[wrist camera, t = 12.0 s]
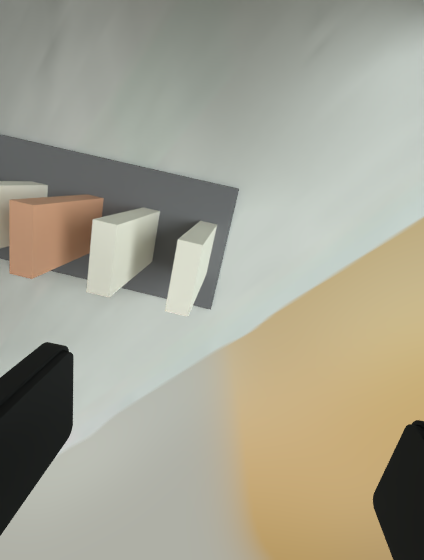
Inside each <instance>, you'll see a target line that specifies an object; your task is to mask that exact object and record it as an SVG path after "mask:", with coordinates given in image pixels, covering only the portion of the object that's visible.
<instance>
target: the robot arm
mask: <svg viewBox="0 0 424 560" xmlns="http://www.w3.org/2000/svg"><path fill="white" fill-rule="evenodd" d="M72 426H73V354H72V353H71V352H69V350H68V347H66V346H63V345H58V344H54V343H49V342H46V343H44V344H42V345H41V346H39V347H38V348H37V349H36V350H34V351H33V352H32V353H31V354H29V355H28V356H27V357H26V358H24V359H23V360H22V361H21V362H19V363H18V364H17V365H16V366H14V367H13V368H12V369H11V370H9V371H8V372H7V373H6V374H4V375H3V376H2V377H1V378H0V535H1V534H2V533H3V531H4V530H5V528H6V527H7V525H8V524H9V523H10V521H11V520H12V518H13V517H14V515H15V514H16V512H17V511H18V509H19V508H20V507H21V505H22V504H23V502H24V501H25V500H26V498H27V497H28V495H29V494H30V492H31V491H32V490H33V488H34V486H35V485H36V484H37V482H38V481H39V480H40V478H41V477H42V475H43V474H44V472H45V471H46V470H47V468H48V467H49V465H50V464H51V462H52V461H53V459H54V458H55V457H56V455H57V454H58V452H59V451H60V449H61V448H62V447H63V445H64V444H65V442H66V441H67V439H68V438H69V436H70V433H71V431H72ZM373 505H374V509H375V512H376V515H377V517H378V520H379V523H380V525H381V528H382V531H383V533H384V536H385V539H386V541H387V544H388V547H389V549H390V552H391V555H392V557H393V559H394V560H424V421H419V420H416V421H414V422H413V423H412V425H407V426H406V428H405V429H404V431H403V434H402V436H401V438H400V440H399V442H398V444H397V446H396V448H395V450H394V453H393V455H392V457H391V459H390V461H389V463H388V465H387V467H386V469H385V471H384V474H383V476H382V478H381V480H380V482H379V484H378V486H377V488H376V490H375V492H374V496H373Z"/></svg>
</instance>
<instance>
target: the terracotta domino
mask: <svg viewBox="0 0 424 560" xmlns="http://www.w3.org/2000/svg"><path fill="white" fill-rule="evenodd" d="M103 200H104V198H101V197H97V196H92V195H88V194H86V195H71V196H56V197H41V198H27V199H12V200H9V255H10V274H14V275H18V276H22V277H26V278H30V279H33V278H35V277H37V276H39V275H42V274H44V273H46V272H48V271H51V270H53V269H55V268H57V267H60V266H62V265H64V264H66V263H69V262H71V261H73V260H75V259H78V258H80V257H82V256H84V255H86V254H89V253H90V245H91V233H92V222H93V219H96V218H100V217H102V210H103Z"/></svg>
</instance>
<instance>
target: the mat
mask: <svg viewBox="0 0 424 560" xmlns="http://www.w3.org/2000/svg"><path fill="white" fill-rule="evenodd" d="M0 181H32V182H37V183H41V184H45V185H48V194H47V197H56V196H71V195H86V194H88V195H92V196H97V197H101V198H104V200H103V210H102V217H104V216H109V215H113V214H117V213H122V212H126V211H130V210H135V209H139V208H143V207H144V208H148V209H153V210H157V211H160V215H159V221H158V227H157V234H156V240H155V246H154V253H153V259H152V262H151V263H150V264H149V265H148V266H146V267H145V268H144V269H143V270H142V271H140V272H139V273H138V274H137V275H136V276H134V277H133V278H132V279H131V280H130V281H128V282H127V283H126V284H125V285H124V286H122V287H121V288H124V289H129V290H133V291H137V292H141V293H145V294H149V295H153V296H157V297H162V298H166V299H167V297H168V291H169V285H170V280H171V274H172V269H173V263H174V258H175V252H176V247H177V241H178V239H179V238H180V237H181V236H182V235H184V234H185V233H186V232H187V231H189V230H190V229H191V228H192V227H193V226H195V225H196V224H197V223H198V222H199V221H204V222H208V223H213V224H217V228H216V232H215V237H214V241H213V246H212V251H211V255H210V260H209V264H208V269H207V273H206V276H205V279H204V281H203V283H202V286H201V288H200V290H199V292H198V295H197V297H196V299H195V302H194V304H193V305H195V306H199V307H203V308H207V309H211V306H212V302H213V298H214V293H215V289H216V285H217V280H218V276H219V272H220V268H221V263H222V259H223V255H224V250H225V246H226V242H227V238H228V233H229V229H230V225H231V220H232V216H233V212H234V208H235V203H236V199H237V195H238V191H239V189H237V188H233V187H228V186H224V185H219V184H215V183H211V182H206V181H202V180H197V179H193V178H189V177H184V176H180V175H176V174H171V173H167V172H162V171H158V170H154V169H149V168H145V167H140V166H136V165H132V164H127V163H123V162H119V161H114V160H110V159H105V158H101V157H97V156H92V155H88V154H83V153H79V152H75V151H70V150H66V149H62V148H57V147H53V146H48V145H44V144H40V143H35V142H31V141H27V140H22V139H18V138H13V137H9V136H5V135H0ZM89 256H90V253H89V254H86V255H84V256H82V257H80V258H78V259H75V260H73V261H71V262H69V263H66V264H64V265H62V266H60V267H57V268H55V269H53V270H51V271H54V272H58V273H63V274H67V275H71V276H75V277H79V278H83V279H88V268H89ZM0 258H1V259H5V260H9V261H10V255H9V246H7V247H4V248H0Z"/></svg>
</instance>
